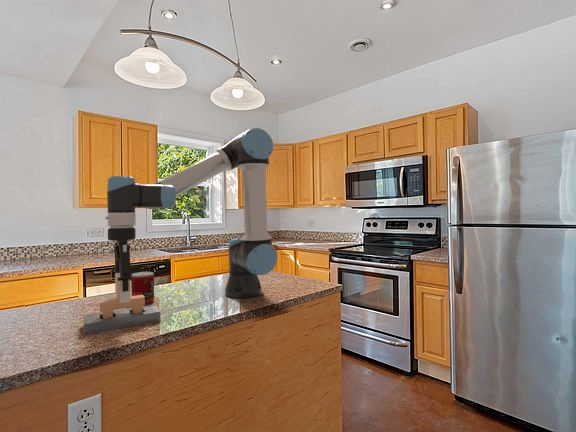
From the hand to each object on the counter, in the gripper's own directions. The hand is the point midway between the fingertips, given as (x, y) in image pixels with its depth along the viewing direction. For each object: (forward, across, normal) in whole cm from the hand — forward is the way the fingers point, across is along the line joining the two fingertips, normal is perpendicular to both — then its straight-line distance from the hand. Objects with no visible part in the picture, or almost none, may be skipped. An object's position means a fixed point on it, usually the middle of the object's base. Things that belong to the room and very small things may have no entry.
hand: (122, 297), depth 96 cm
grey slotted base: (+8, 0, 0) cm, 8 cm away
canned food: (+8, -21, +9) cm, 24 cm away
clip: (+8, 0, 0) cm, 8 cm away
